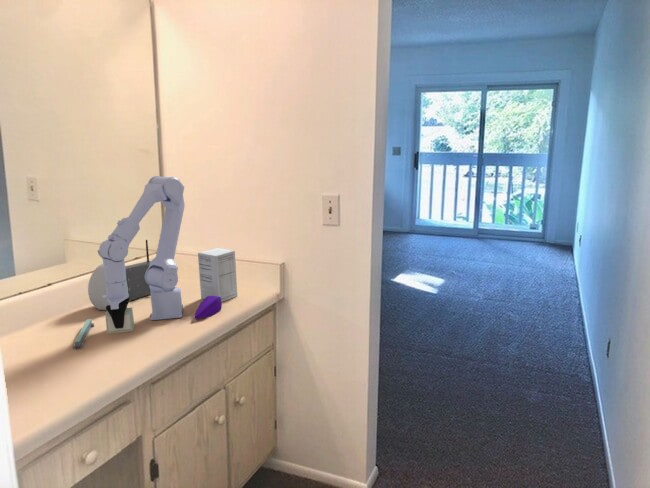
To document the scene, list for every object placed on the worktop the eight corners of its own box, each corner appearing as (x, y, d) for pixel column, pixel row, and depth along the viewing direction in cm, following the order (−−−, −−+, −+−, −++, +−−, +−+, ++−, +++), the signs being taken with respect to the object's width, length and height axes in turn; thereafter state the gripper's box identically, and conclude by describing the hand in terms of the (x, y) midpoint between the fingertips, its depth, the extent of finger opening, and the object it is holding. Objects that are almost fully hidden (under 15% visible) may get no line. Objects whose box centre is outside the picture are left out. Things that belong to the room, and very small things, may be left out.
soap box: (134, 326, 154) (132, 307, 153) (132, 331, 150) (130, 311, 149) (109, 328, 152) (107, 309, 151) (107, 333, 149) (105, 314, 147)
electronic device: (150, 290, 190) (146, 237, 186) (163, 293, 186) (159, 239, 183) (109, 302, 176) (104, 246, 172) (121, 306, 172) (116, 247, 168)
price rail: (94, 325, 155) (93, 318, 155) (82, 348, 138) (81, 340, 137) (85, 326, 154) (84, 319, 154) (73, 349, 137) (72, 341, 137)
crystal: (187, 309, 157) (212, 291, 170) (189, 324, 158) (214, 304, 172) (201, 311, 155) (225, 292, 169) (203, 325, 157) (226, 306, 170)
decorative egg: (136, 302, 176) (133, 260, 173) (111, 313, 165) (107, 268, 162) (107, 299, 180) (103, 258, 177) (81, 310, 169) (76, 266, 166)
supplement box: (220, 292, 187) (217, 247, 184) (238, 296, 182) (236, 250, 178) (200, 299, 179) (196, 252, 176) (218, 303, 174) (215, 255, 171)
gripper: (105, 275, 154) (109, 318, 157) (96, 288, 140) (102, 335, 143) (129, 273, 156) (133, 316, 159) (124, 286, 142) (128, 332, 145)
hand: (120, 325), depth 151 cm, fingers open, 4 cm apart
